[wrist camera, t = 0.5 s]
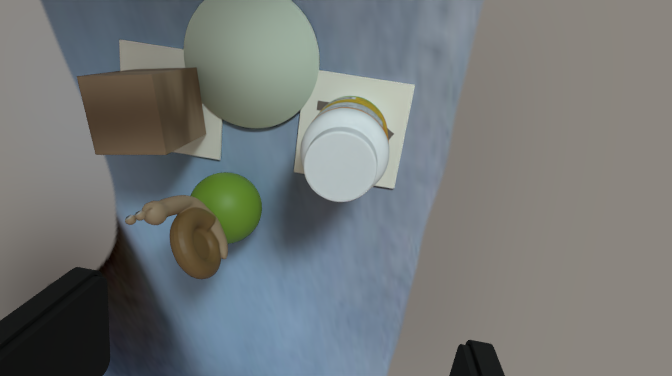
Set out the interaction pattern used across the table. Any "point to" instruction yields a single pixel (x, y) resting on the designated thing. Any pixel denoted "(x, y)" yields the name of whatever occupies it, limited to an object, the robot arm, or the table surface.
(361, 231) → the table surface
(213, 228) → the snail figurine
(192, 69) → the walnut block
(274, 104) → the felt coaster
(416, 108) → the table surface
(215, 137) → the code tile
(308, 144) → the supplement bottle
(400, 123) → the code tile
